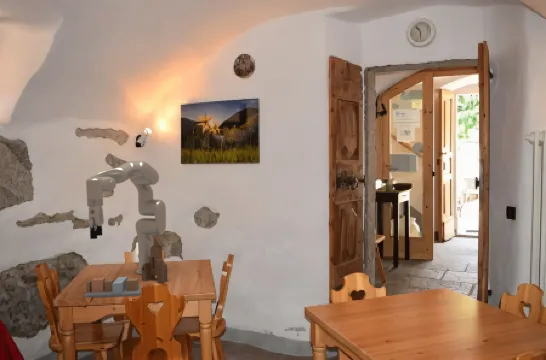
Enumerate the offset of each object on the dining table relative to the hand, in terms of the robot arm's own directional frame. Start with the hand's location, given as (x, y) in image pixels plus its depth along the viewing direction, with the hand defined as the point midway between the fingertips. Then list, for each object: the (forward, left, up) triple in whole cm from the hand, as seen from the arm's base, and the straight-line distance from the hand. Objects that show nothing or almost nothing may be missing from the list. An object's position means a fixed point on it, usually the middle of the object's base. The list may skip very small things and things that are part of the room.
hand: (96, 237), depth 261 cm
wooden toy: (-21, +25, -29) cm, 43 cm away
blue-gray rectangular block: (0, +11, -27) cm, 29 cm away
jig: (0, +8, -28) cm, 29 cm away
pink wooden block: (0, 0, -27) cm, 27 cm away
